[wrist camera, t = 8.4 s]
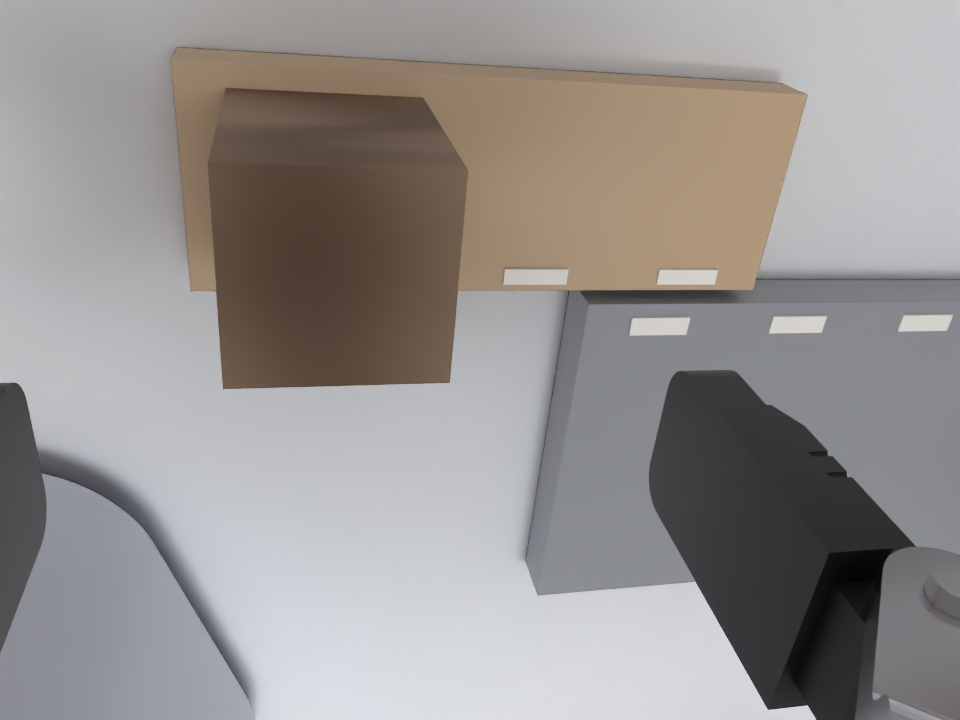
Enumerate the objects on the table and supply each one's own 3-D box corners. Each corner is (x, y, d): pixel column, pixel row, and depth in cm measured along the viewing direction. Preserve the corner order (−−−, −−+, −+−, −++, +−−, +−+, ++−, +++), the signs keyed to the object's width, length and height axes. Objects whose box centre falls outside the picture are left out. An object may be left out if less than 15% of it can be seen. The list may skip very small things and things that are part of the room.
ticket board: (1168, 279, 26) (1215, 302, 25) (1035, 521, 31) (1069, 551, 30) (570, 279, 22) (590, 306, 21) (525, 561, 27) (538, 597, 26)
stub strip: (781, 83, 20) (954, 158, 15) (732, 270, 23) (866, 391, 18) (177, 47, 17) (132, 126, 12) (195, 269, 20) (164, 415, 14)
